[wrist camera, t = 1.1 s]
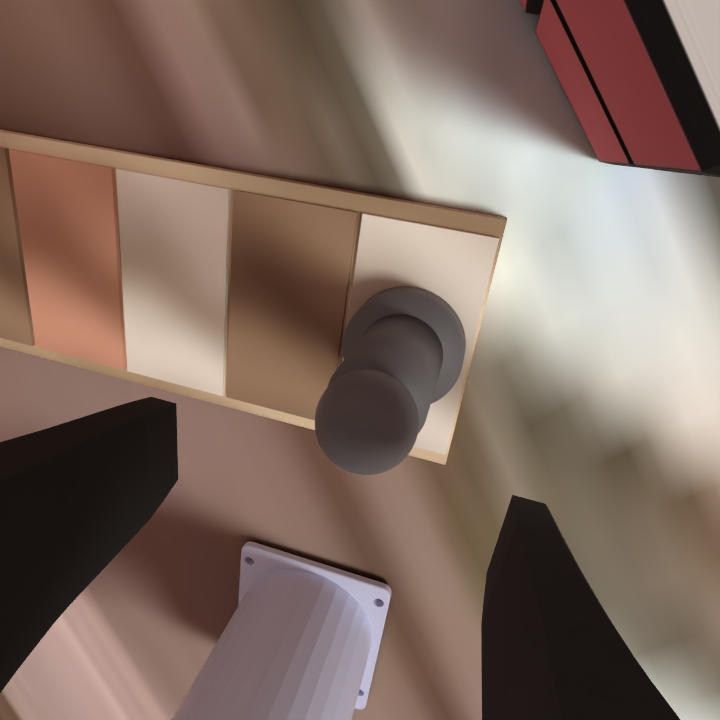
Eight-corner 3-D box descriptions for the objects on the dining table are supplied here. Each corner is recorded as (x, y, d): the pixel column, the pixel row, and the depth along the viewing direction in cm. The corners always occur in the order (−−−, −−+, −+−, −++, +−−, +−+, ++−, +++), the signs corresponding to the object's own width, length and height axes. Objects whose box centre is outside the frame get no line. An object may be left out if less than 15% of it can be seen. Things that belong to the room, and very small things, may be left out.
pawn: (452, 406, 20) (424, 542, 13) (344, 380, 21) (264, 495, 14) (478, 299, 18) (462, 391, 11) (359, 275, 19) (275, 346, 12)
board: (447, 454, 22) (444, 467, 21) (-30, 329, 26) (-49, 335, 25) (506, 217, 18) (506, 221, 17) (-71, 117, 22) (-95, 115, 21)
